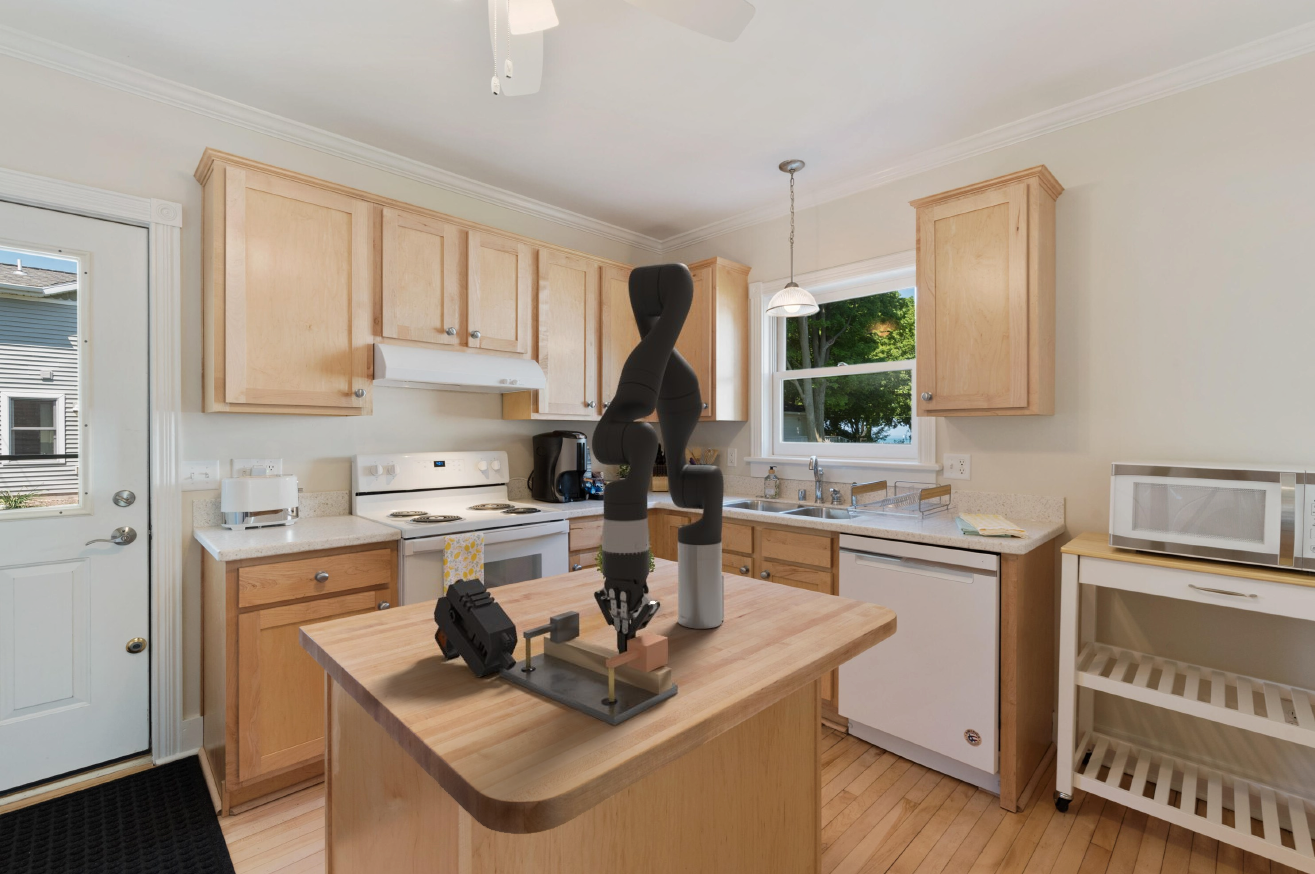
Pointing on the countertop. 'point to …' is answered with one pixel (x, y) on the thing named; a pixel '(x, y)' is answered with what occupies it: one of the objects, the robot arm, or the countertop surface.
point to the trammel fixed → (592, 654)
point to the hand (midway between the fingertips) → (626, 653)
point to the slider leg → (640, 656)
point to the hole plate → (583, 688)
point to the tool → (475, 628)
